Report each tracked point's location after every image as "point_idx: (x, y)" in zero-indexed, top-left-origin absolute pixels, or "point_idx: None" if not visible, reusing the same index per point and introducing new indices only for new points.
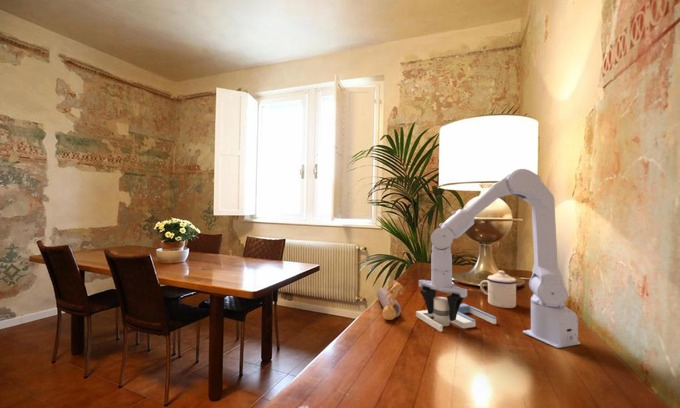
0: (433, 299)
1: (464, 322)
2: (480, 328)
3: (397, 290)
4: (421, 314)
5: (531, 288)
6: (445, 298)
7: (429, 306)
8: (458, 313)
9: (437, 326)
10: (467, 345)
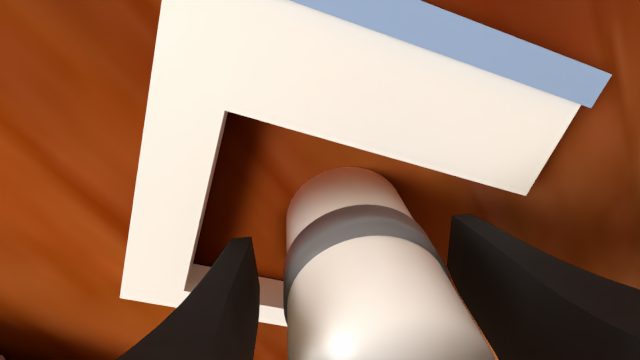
0: (227, 333)
1: (530, 176)
2: (606, 59)
3: None
4: None
5: None
6: (417, 348)
7: (252, 344)
8: (410, 42)
9: None
10: None
